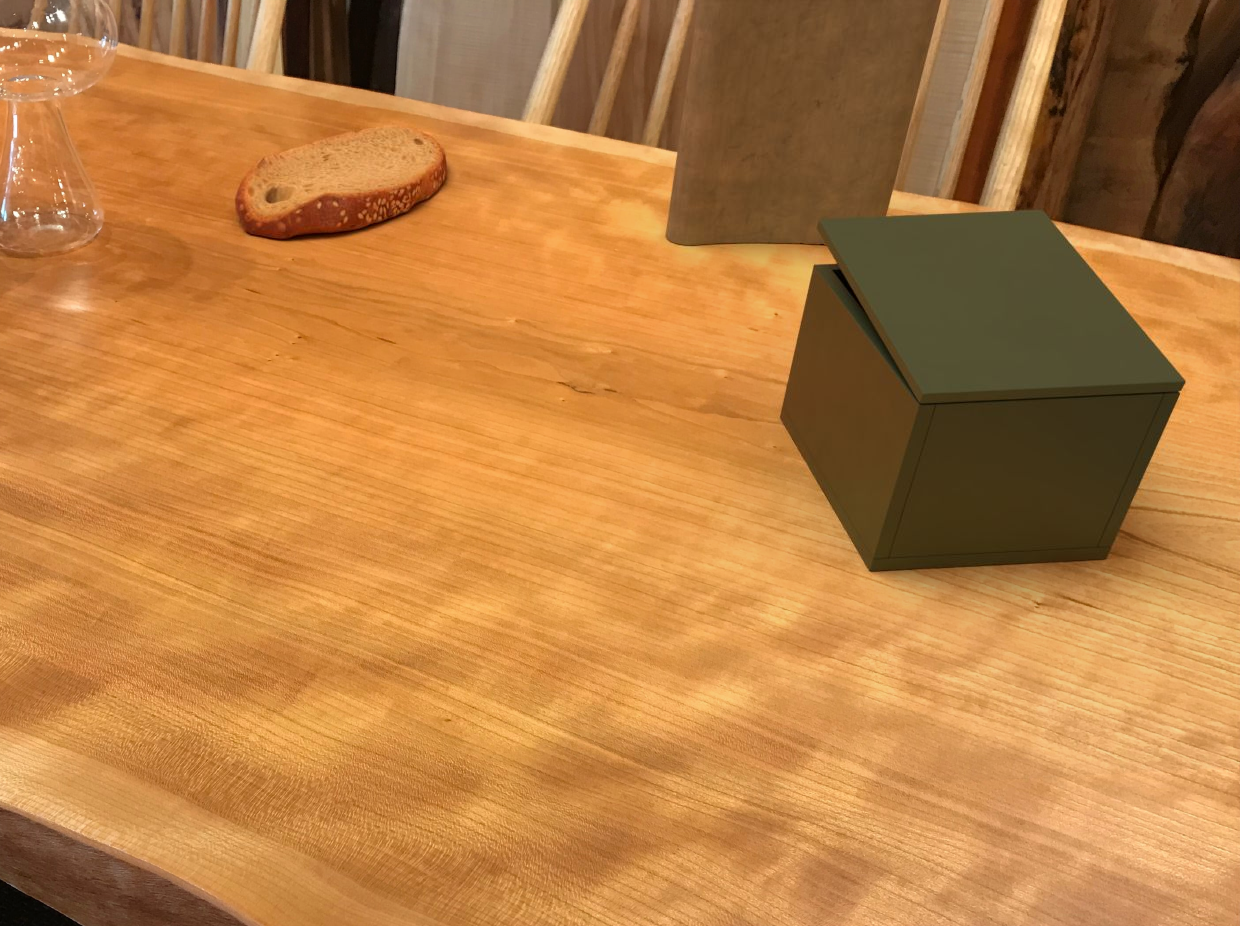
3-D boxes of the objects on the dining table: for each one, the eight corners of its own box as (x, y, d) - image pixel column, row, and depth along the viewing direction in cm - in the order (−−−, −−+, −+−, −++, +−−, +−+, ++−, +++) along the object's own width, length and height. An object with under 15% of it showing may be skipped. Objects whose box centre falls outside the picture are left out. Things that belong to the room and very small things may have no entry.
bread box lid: (815, 228, 73) (818, 218, 72) (1038, 218, 73) (1042, 208, 73) (919, 404, 62) (923, 393, 61) (1181, 391, 62) (1187, 381, 61)
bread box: (779, 417, 80) (813, 264, 73) (982, 407, 80) (1034, 254, 74) (869, 571, 68) (919, 405, 62) (1106, 559, 68) (1181, 393, 62)
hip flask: (667, 244, 99) (709, -50, 86) (662, 223, 102) (702, -65, 89) (883, 248, 97) (960, -50, 84) (872, 226, 100) (944, -65, 87)
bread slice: (438, 147, 115) (439, 103, 112) (467, 231, 101) (469, 183, 99) (234, 157, 114) (231, 113, 112) (236, 243, 101) (232, 195, 98)
